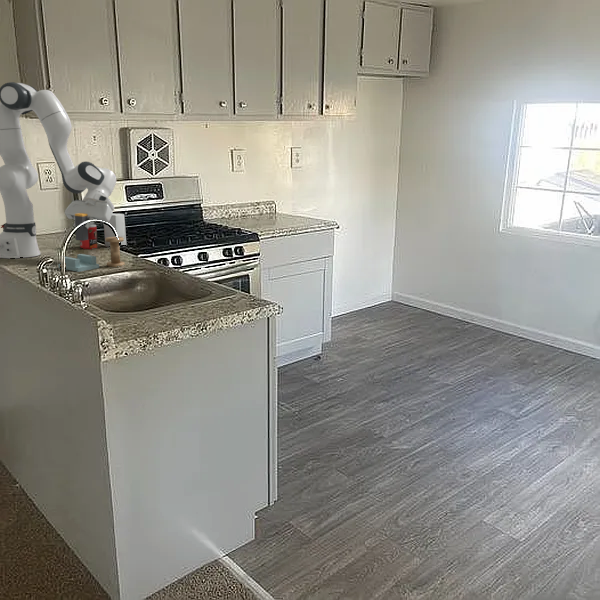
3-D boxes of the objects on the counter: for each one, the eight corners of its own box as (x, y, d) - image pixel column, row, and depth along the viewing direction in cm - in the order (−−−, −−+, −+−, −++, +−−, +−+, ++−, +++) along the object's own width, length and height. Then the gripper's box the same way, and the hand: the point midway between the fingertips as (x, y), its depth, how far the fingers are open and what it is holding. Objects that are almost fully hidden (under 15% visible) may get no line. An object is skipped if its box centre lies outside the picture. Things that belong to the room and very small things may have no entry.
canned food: (92, 249, 286) (91, 226, 284) (76, 248, 288) (75, 225, 285) (100, 247, 294) (99, 224, 291) (85, 246, 295) (84, 223, 292)
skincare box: (126, 246, 299) (125, 214, 295) (117, 247, 293) (115, 215, 290) (114, 244, 303) (112, 212, 299) (104, 246, 297) (102, 213, 293)
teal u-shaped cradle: (58, 267, 244) (57, 256, 242) (79, 264, 252) (78, 253, 251) (78, 271, 237) (77, 260, 236) (99, 267, 246) (98, 256, 244)
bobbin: (104, 267, 248) (102, 238, 245) (110, 263, 254) (108, 236, 252) (121, 267, 247) (120, 239, 245) (127, 264, 254) (125, 237, 251)
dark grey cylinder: (75, 239, 255) (74, 213, 252) (81, 238, 258) (80, 213, 255) (82, 240, 254) (82, 214, 251) (88, 239, 257) (87, 213, 254)
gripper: (70, 194, 261) (55, 219, 254) (111, 198, 255) (98, 224, 249) (77, 204, 266) (63, 229, 259) (118, 208, 261) (104, 234, 254)
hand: (80, 227), depth 254 cm, fingers closed on dark grey cylinder, 3 cm apart
